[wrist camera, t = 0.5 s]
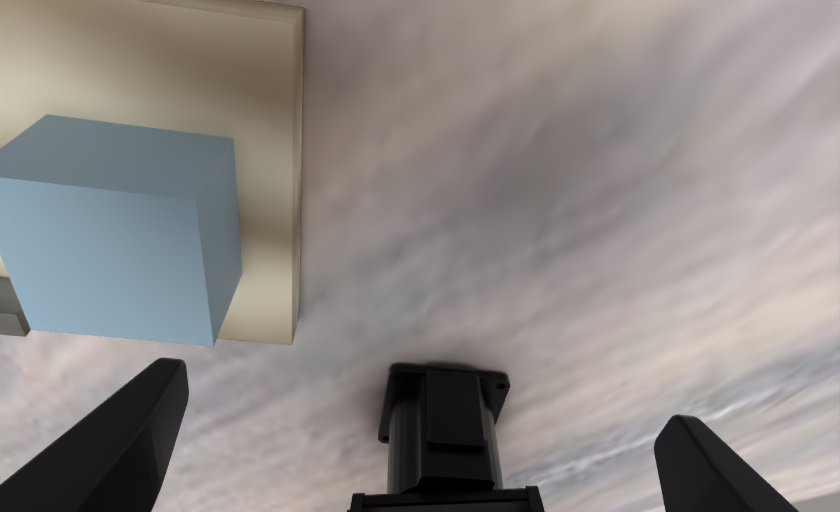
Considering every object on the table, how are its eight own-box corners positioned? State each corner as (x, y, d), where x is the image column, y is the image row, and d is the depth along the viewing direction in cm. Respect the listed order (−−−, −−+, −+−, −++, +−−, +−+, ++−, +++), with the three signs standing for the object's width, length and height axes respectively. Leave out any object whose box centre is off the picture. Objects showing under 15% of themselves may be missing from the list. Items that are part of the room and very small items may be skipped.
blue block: (242, 273, 22) (213, 346, 19) (87, 257, 21) (30, 329, 18) (233, 138, 18) (195, 200, 15) (46, 114, 18) (-34, 173, 14)
